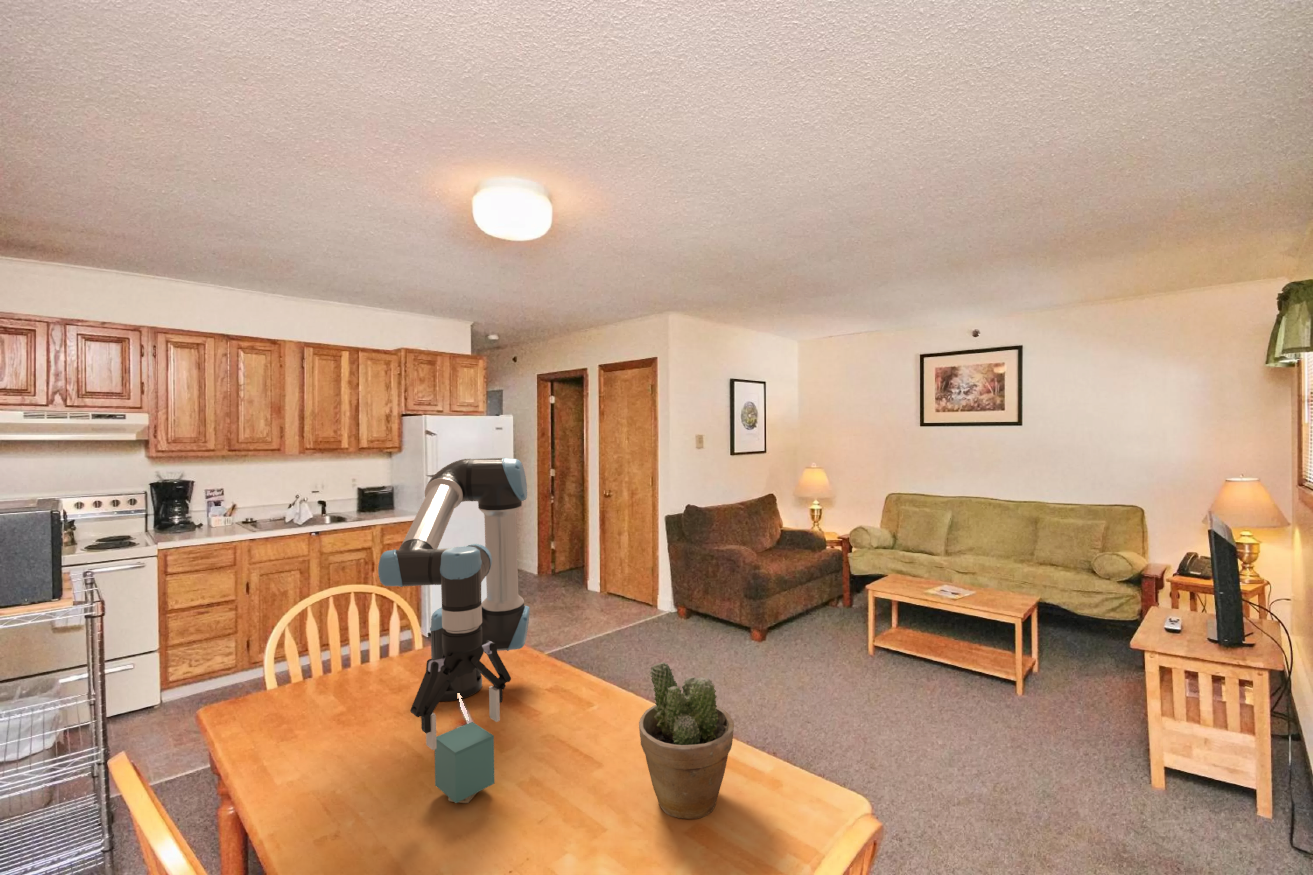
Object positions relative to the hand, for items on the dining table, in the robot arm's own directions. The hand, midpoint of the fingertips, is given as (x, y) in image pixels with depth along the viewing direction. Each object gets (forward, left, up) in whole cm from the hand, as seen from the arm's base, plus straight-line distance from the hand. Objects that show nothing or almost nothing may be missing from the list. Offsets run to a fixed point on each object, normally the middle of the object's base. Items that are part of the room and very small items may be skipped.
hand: (464, 732), depth 116 cm
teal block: (0, 0, -10) cm, 10 cm away
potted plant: (-28, +34, -12) cm, 46 cm away
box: (0, 0, -12) cm, 12 cm away
